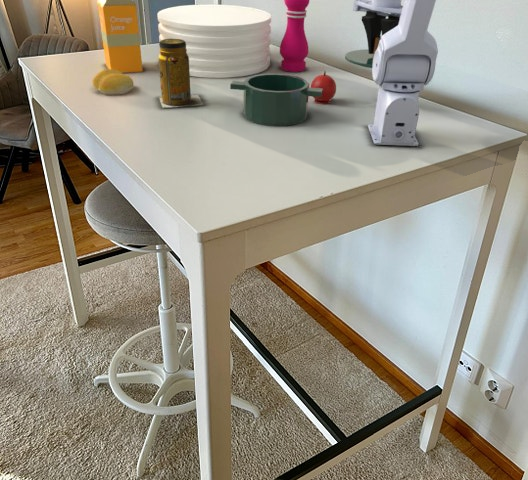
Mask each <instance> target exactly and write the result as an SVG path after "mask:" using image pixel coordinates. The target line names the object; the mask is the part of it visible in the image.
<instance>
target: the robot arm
mask: <svg viewBox="0 0 528 480" xmlns="http://www.w3.org/2000/svg"><path fill="white" fill-rule="evenodd" d="M436 2H437V0H404V1H403V4H402V0H353V7H352V11H353V12H360V13H361V12H362V13H365V14H364V15H362V16H361V22H362V25H363V27H364V31H365V35H366V40H367V48H368V50H369V54H373V49H374V42H375V37H376V36H381V40H380V41H379V45H378V48H377V50H376V51H375V54H374V58H373V66H372V68H371V70H372V71H371V72H372V74H371V75H372V81H373V82H374V83H375V84H376V85H377V86H378V92H377V98H376V104H375V112H374V119H373V124H371V123H370V124H368V125H367V128H368V131H369V133H370V136H371V139H372V142H373V144H374V145H379V146H402V147H418V146H419V143H420V142H418V139H417V138H416V131H417V127H418V122H419V121H418V120H419V115H420V108H419V104H418V103H419V97H420V92H421V91H424V88H425V86H428V85H429V83H430V82H432V80H433V78H434V75H435V72H436V64H437V58H438V53H439V49H438V44H437V41H436V38H435V37H434V35H432V34H431V33H430V32H429V31H428V29H429V26H430V22H431V19H432V16H433V12H434V9H435V5H436Z"/></svg>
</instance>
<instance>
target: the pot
mask: <svg viewBox="0 0 528 480" xmlns="http://www.w3.org/2000/svg"><path fill="white" fill-rule="evenodd" d="M310 87H311V86H310V82H309V80H307V79H305V78H302V77H300V76H297V75H291V74H285V73H262V74H261V73H260V74H253V75H250V76H249V77H246V78H245V79H244V80H242V81H241V80H240V81H239V80H233V81H232V82H230V85H229V88H230V90H235V91H236V90H238V91H243V117H244V118H245V119H246V120H248V121H250V122H252V123H255V124H258V125H261V126H269V127H272V126H273V127H285V126H287V127H288V126H292V125H298V124H300V123H302V122H304V121H305V120H306V119H307V117H308V116H307V115H308V109H309V98H310V97H313V96H314V97H321V96H322V93H323V89H322V88H310Z"/></svg>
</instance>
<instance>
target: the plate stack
mask: <svg viewBox="0 0 528 480" xmlns="http://www.w3.org/2000/svg"><path fill="white" fill-rule="evenodd" d="M157 22H158V24H157V27H158V33H159V36H158V40H159V42H160V41H161V40H164V39H181V40H184V41H185V42H186V49H187V52H186V53H187V55H188V57H189V73H190V77H195V78H208V79H212V78H213V79H224V78H225V79H227V78H240V77H246V76H253V75H257V74H259V73H262V72H264V71H266V70H267V69H269V67H270V65H271V58H270V55H271V36H270V35H271V33H272V26H271V24H272V15H271V14H270V12H268V11H266V10H262V9H260V8H255V7H250V6H243V5H232V4H213V3H212V4H211V3H210V4H188V5H187V4H185V5H177V6H172V7H168V8H163V9H161V10H159V11H158V12H157Z"/></svg>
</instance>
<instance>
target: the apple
mask: <svg viewBox="0 0 528 480" xmlns="http://www.w3.org/2000/svg"><path fill="white" fill-rule="evenodd" d="M326 73H327V71H326V70H324V71H323V74H319V75H318V76H316V77H314V79H313V80H312V82H311V84H310V86H309V87H310V88H322V89H323V93H322V96H321V97H314V96H312V98H313V99H314V100H313V101H314V103H316V104H319V105H328V104H330V103H331V100H332V99H333V98H334V97H335V95H336V93H337V83H336V81H335V80H334V77H333V78H332V77H331V76H330V75H327V74H326Z"/></svg>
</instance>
